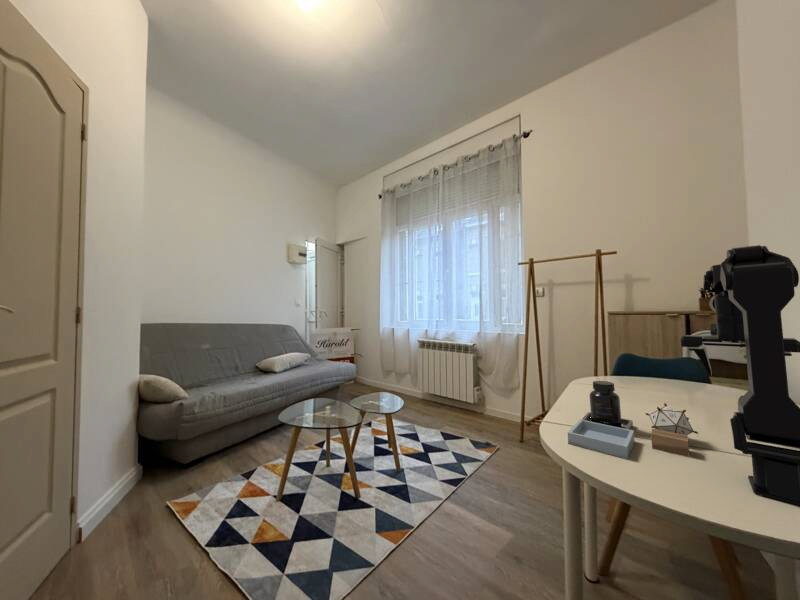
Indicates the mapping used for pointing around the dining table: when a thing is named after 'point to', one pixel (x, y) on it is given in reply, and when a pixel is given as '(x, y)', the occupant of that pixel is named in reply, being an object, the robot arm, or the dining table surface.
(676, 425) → the game die
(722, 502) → the dining table surface
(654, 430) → the block
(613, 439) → the parts tray
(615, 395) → the supplement bottle
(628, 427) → the grey square frame
